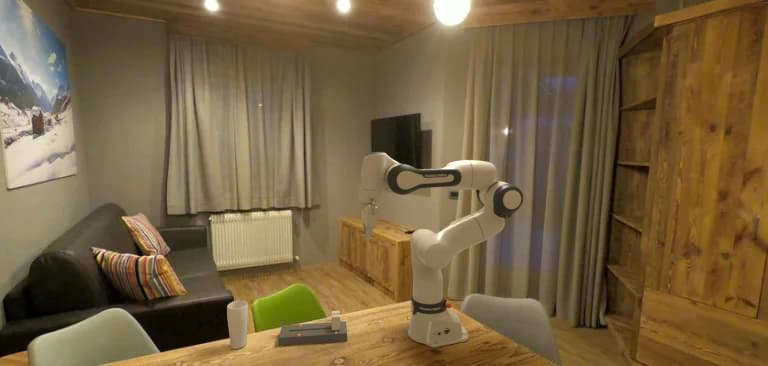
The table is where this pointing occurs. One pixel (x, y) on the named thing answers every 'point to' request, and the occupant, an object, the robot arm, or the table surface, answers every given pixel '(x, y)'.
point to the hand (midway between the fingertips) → (366, 235)
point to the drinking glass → (237, 323)
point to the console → (311, 333)
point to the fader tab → (335, 320)
